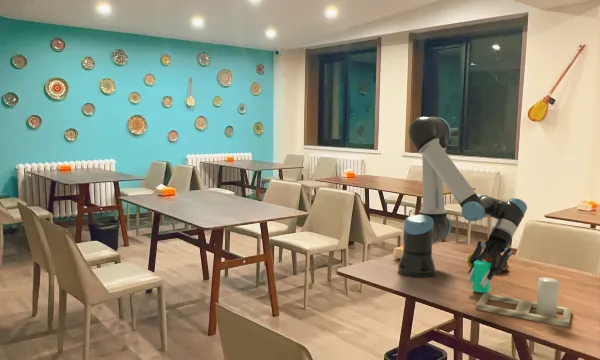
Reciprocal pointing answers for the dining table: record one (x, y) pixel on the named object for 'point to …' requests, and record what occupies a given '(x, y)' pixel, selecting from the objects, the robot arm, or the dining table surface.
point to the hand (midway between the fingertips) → (475, 283)
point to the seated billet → (547, 297)
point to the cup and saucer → (490, 258)
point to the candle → (480, 276)
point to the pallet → (522, 309)
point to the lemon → (469, 259)
